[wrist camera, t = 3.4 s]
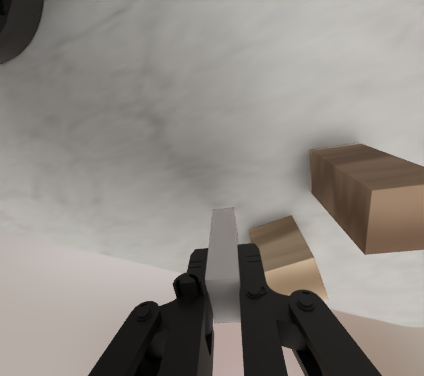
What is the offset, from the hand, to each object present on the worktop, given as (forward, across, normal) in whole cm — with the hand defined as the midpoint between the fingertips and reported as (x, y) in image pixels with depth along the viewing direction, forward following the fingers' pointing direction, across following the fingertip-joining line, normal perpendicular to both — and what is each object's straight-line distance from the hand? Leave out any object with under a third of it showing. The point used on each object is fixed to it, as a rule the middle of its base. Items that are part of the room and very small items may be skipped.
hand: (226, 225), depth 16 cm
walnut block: (+9, +11, 0) cm, 14 cm away
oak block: (+9, +5, -8) cm, 13 cm away
